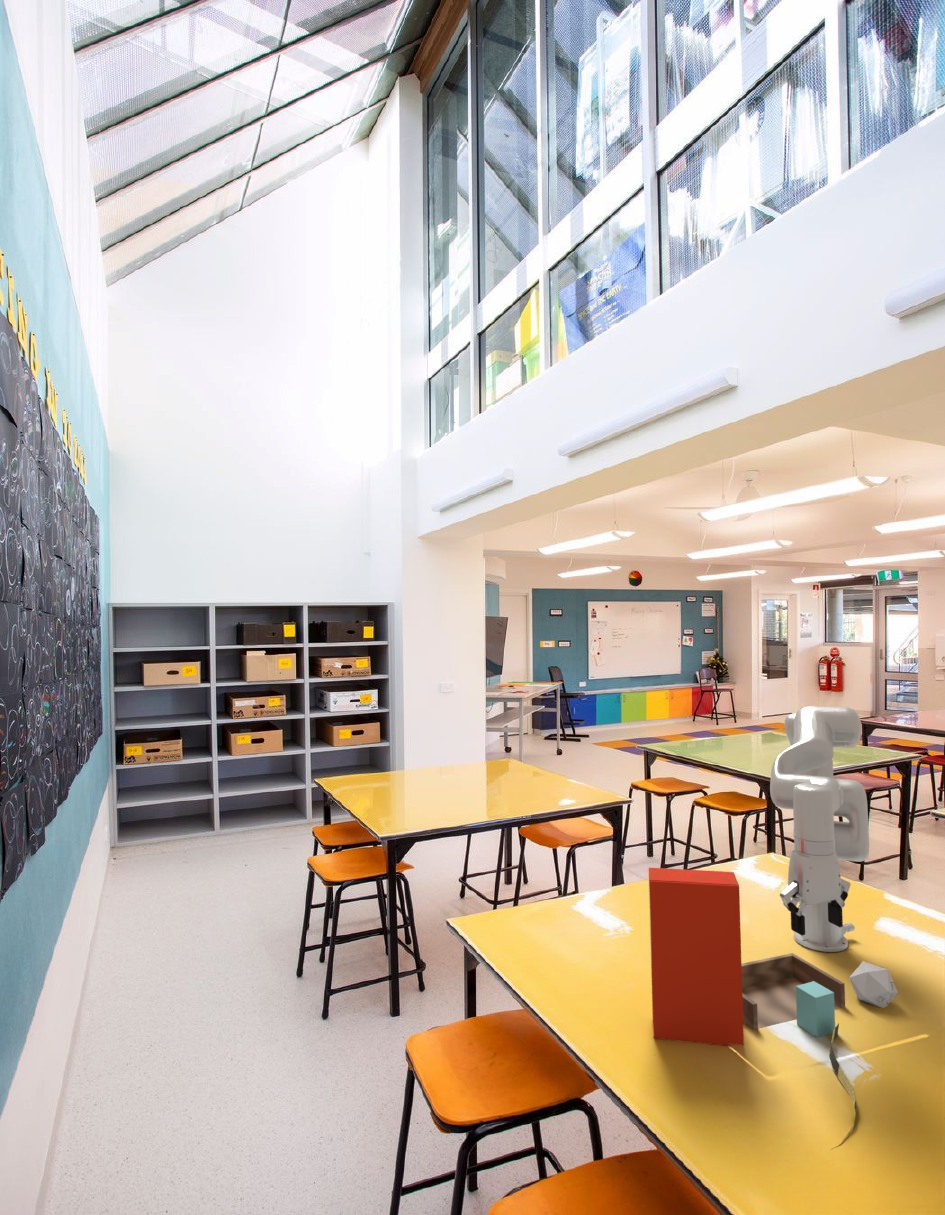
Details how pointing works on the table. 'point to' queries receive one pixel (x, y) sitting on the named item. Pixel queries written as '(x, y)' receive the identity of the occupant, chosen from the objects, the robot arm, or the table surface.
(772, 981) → the open box
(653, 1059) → the table surface
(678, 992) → the file binder
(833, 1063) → the curved strip
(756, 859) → the table surface
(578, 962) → the table surface
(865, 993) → the die
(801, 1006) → the teal block
